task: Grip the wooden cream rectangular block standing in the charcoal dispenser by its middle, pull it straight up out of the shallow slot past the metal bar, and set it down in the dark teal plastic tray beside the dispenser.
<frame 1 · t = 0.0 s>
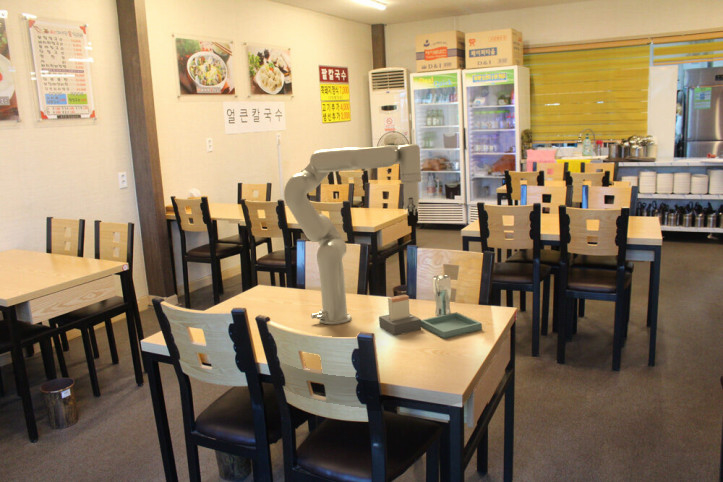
hand: (413, 223, 228), 37 cm above the table, tool pointing down, fingers open, 9 cm apart
dispenser: (400, 328, 225), on the table
tray: (450, 328, 222), on the table
beer glass: (443, 314, 239), on the table
cream rectangular block: (399, 323, 225), point 2 cm above the table, touching dispenser
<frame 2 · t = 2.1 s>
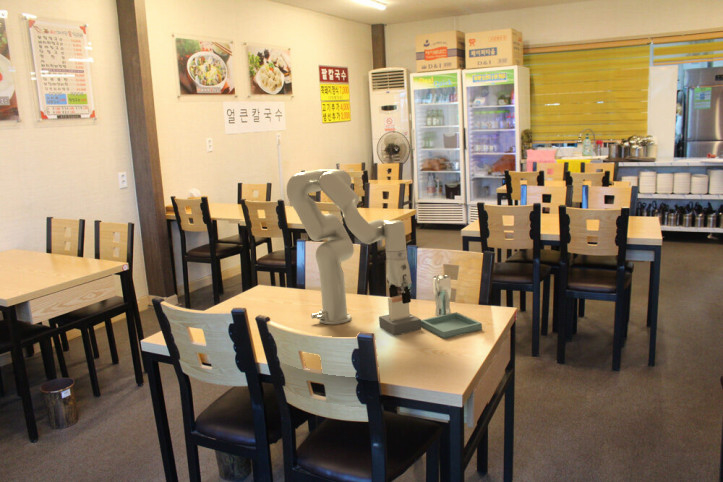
hand: (400, 300, 223), 11 cm above the table, tool pointing down, fingers open, 9 cm apart
nothing on the table moved.
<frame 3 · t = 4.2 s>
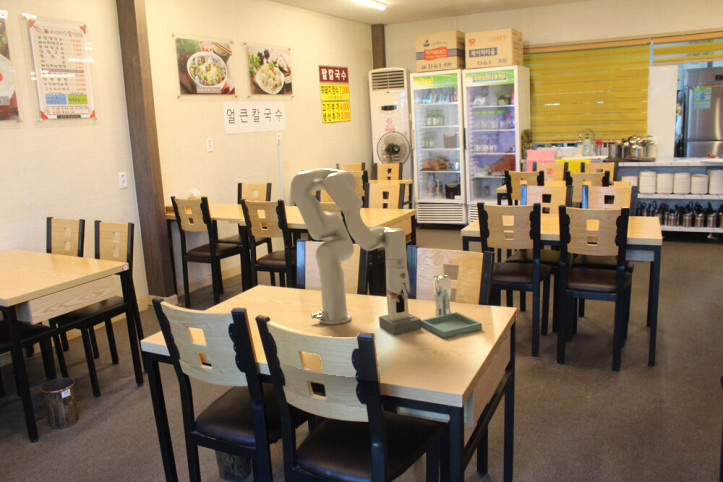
hand: (398, 310, 224), 7 cm above the table, tool pointing down, fingers closed on cream rectangular block, 2 cm apart
cream rectangular block: (398, 319, 225), point 3 cm above the table, touching dispenser, gripper
everything else where it was.
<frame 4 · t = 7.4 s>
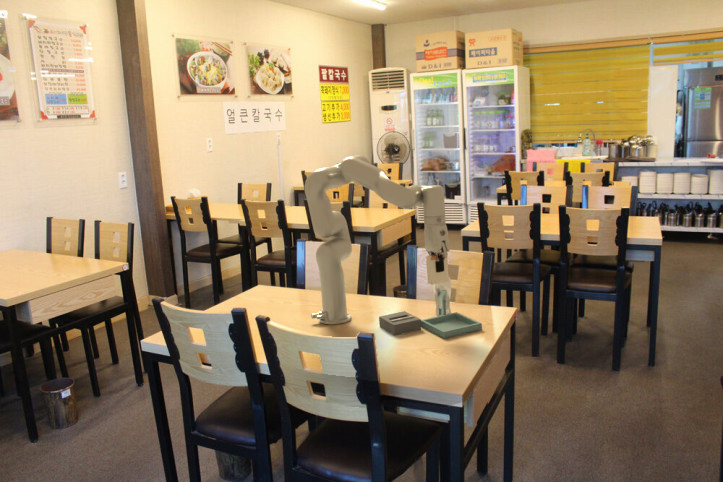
hand: (437, 270, 218), 22 cm above the table, tool pointing down, fingers closed on cream rectangular block, 2 cm apart
cream rectangular block: (438, 282, 219), point 17 cm above the table, touching gripper
everything else where it was.
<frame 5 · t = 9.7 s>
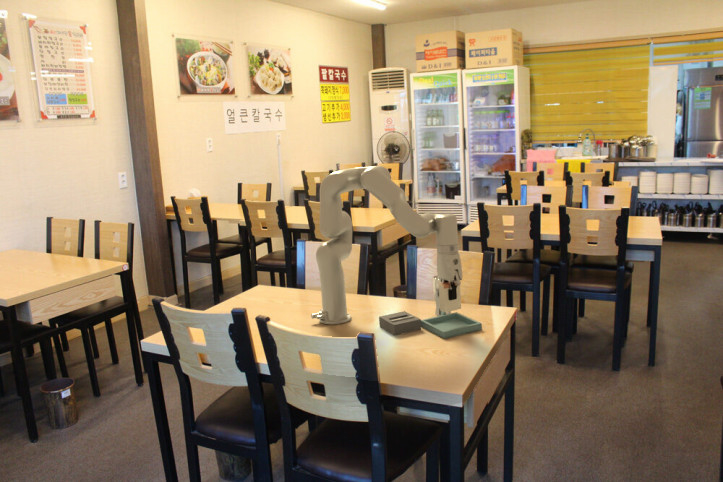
hand: (450, 298, 219), 11 cm above the table, tool pointing down, fingers closed on cream rectangular block, 2 cm apart
cream rectangular block: (450, 309, 220), point 7 cm above the table, touching gripper
everything else where it was.
when the fingers open (6 cm above the table, at t = 11.5 s): cream rectangular block stays where it is, resting on tray.
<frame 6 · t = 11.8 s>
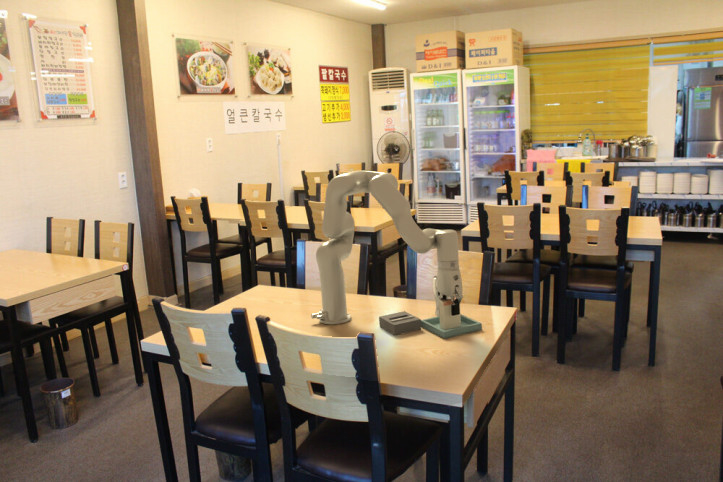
hand: (450, 312, 221), 6 cm above the table, tool pointing down, fingers open, 6 cm apart
cream rectangular block: (450, 326, 222), point 1 cm above the table, touching tray
everything else where it was.
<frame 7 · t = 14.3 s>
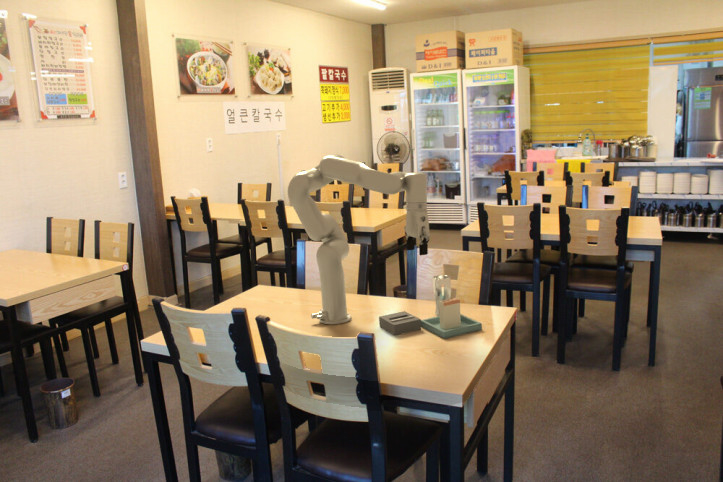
hand: (416, 252, 225), 27 cm above the table, tool pointing down, fingers open, 9 cm apart
nothing on the table moved.
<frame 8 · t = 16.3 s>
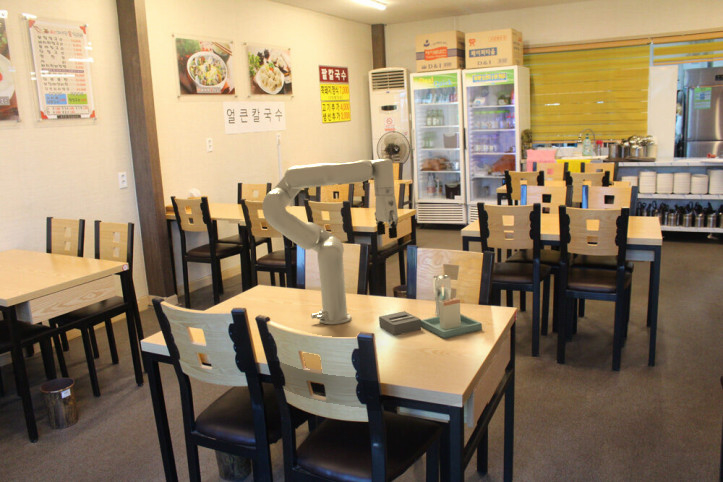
hand: (387, 236, 234), 32 cm above the table, tool pointing down, fingers open, 9 cm apart
nothing on the table moved.
at the end: cream rectangular block inside the target area on the tray (0.1 cm from its centre), point 0.6 cm above the tray's base; the gripper is holding nothing; cream rectangular block moved 18.6 cm from its start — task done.
